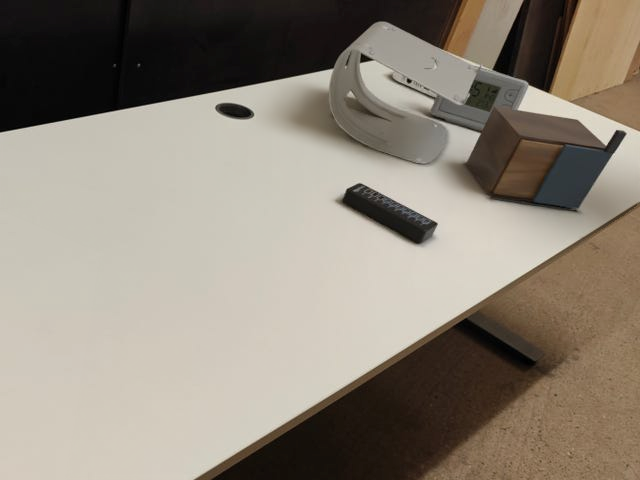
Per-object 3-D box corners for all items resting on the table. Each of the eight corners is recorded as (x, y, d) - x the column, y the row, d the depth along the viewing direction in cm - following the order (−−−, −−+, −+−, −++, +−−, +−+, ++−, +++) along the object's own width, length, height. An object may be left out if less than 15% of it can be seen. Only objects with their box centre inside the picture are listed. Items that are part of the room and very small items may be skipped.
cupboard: (576, 211, 118) (614, 153, 111) (491, 199, 117) (523, 139, 109) (545, 175, 128) (577, 119, 121) (466, 163, 127) (493, 106, 119)
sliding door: (578, 209, 117) (627, 133, 108) (533, 202, 117) (578, 125, 107) (576, 206, 118) (624, 130, 109) (531, 199, 117) (575, 123, 108)
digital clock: (424, 114, 143) (446, 63, 135) (437, 105, 148) (459, 55, 141) (499, 143, 137) (525, 91, 130) (509, 131, 143) (535, 81, 136)
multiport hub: (419, 244, 101) (425, 231, 99) (340, 201, 108) (345, 188, 106) (432, 236, 104) (439, 223, 102) (355, 194, 110) (360, 182, 109)
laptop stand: (346, 93, 146) (371, 16, 135) (454, 127, 140) (489, 50, 129) (313, 130, 128) (339, 45, 117) (435, 170, 122) (474, 85, 111)
